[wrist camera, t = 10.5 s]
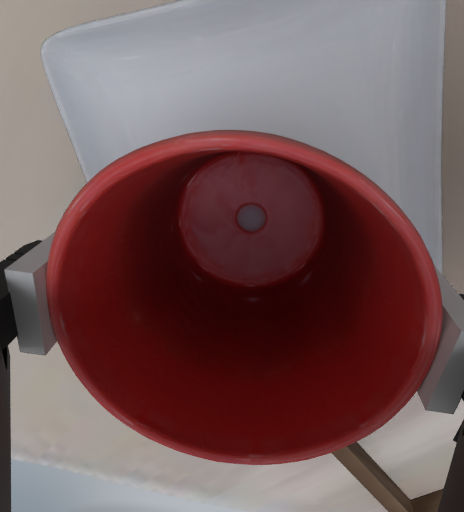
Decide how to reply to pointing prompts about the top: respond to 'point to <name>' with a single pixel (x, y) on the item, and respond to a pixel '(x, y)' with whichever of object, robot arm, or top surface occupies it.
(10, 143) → the top surface
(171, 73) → the salad plate
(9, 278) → the robot arm
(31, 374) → the top surface
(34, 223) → the top surface
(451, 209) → the top surface
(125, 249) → the flower pot
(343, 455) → the holder frame
